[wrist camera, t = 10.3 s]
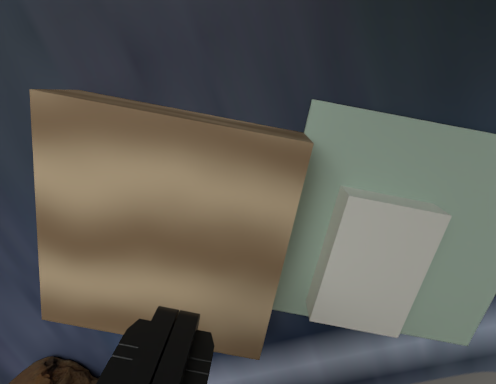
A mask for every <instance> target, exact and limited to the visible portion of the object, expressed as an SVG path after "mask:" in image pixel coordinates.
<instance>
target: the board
mask: <svg viewBox="0 0 496 384" xmlns="http://www.w3.org/2000/svg"><path fill="white" fill-rule="evenodd" d="M30 106H31V125H32V143H33V162H34V181H35V199H36V218H37V237H38V255H39V274H40V293H41V311H42V320H48V321H53V322H58V323H64V324H69V325H74V326H80V327H85V328H90V329H96V330H101V331H106V332H112V333H117V334H122V335H124V333H125V332H126V330H127V329H128V328H129V327H130V326H131V325H132V324H134V323H135V322H136V321H137V320H138V319H144V320H149V321H151V320H152V318H153V316H154V314H155V312H156V310H157V308H158V306H162V307H168V308H173V309H178V310H179V312H180V310H183V311H188V312H194V313H199V314H200V320H199V326H198V330H201V331H206V332H211V334H212V338H213V342H214V351H213V352H219V353H224V354H229V355H235V356H240V357H245V358H251V359H256V360H259V359H260V355H261V351H262V347H263V343H264V339H265V335H266V331H267V327H268V323H269V319H270V315H271V311H272V307H273V303H274V299H275V295H276V292H277V288H278V284H279V280H280V276H281V272H282V268H283V264H284V260H285V256H286V252H287V248H288V244H289V240H290V236H291V232H292V228H293V224H294V220H295V216H296V212H297V208H298V204H299V200H300V196H301V192H302V188H303V184H304V180H305V177H306V173H307V169H308V165H309V161H310V157H311V153H312V149H313V145H314V143H313V142H312V141H311V140H310V139H309V138H308V137H307V136H306V135H305V134H304V133H302V132H297V131H291V130H286V129H281V128H276V127H270V126H265V125H260V124H255V123H249V122H244V121H239V120H234V119H228V118H223V117H218V116H213V115H207V114H202V113H197V112H191V111H186V110H181V109H176V108H170V107H165V106H160V105H155V104H149V103H144V102H139V101H134V100H128V99H123V98H118V97H113V96H107V95H102V94H97V93H92V92H86V91H81V90H46V89H30Z"/></svg>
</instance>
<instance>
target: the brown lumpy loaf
mask: <svg viewBox="0 0 496 384" xmlns="http://www.w3.org/2000/svg"><path fill="white" fill-rule="evenodd" d="M97 381H98V378H95V377H93V376H91V374H90V372H89V370H87V369H85V368H84V367H82V366H80V365H79V364H78V363H76V362H74V361H71V360H62V359H60V358H57V357H53V356H51V357H46V358H44V359H41V360H38V361H36V362H34V363H33V364H32V365H30V366H29V367H28V368H26V369H25V370H24V371H22V372H21V373H20V374H19V375H18V376H17V377H16V378H14V379H13V380H12V381H11V382H10V383H9V384H96V383H97Z"/></svg>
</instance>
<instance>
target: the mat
mask: <svg viewBox="0 0 496 384" xmlns="http://www.w3.org/2000/svg"><path fill="white" fill-rule="evenodd" d="M304 134H305V135H306V136H307V137H308V138H309V139H310V140H311V141H312V142H313V143H314V145H313V149H312V153H311V157H310V161H309V165H308V169H307V173H306V177H305V180H304V184H303V188H302V192H301V196H300V200H299V204H298V208H297V212H296V216H295V220H294V224H293V228H292V232H291V236H290V240H289V244H288V248H287V252H286V256H285V260H284V264H283V268H282V272H281V276H280V280H279V284H278V288H277V292H276V295H275V299H274V303H273V307H272V309H273V310H278V311H283V312H288V313H294V314H299V315H304V316H308V311H307V306H306V298H307V295H308V292H309V288H310V285H311V282H312V278H313V275H314V272H315V269H316V265H317V262H318V259H319V255H320V252H321V249H322V245H323V242H324V239H325V235H326V232H327V229H328V226H329V222H330V219H331V216H332V212H333V209H334V206H335V202H336V199H337V196H338V192H339V189H340V186H346V187H351V188H356V189H362V190H367V191H372V192H377V193H382V194H387V195H392V196H397V197H402V198H407V199H412V200H418V201H423V202H428V203H433V204H435V205H436V206H438V207H439V208H441V209H442V210H444V211H445V212H447V213H448V214H450V215H451V216H452V217H451V219H450V222H449V224H448V226H447V228H446V231H445V233H444V235H443V237H442V240H441V242H440V244H439V246H438V249H437V251H436V253H435V255H434V258H433V260H432V262H431V264H430V267H429V269H428V271H427V273H426V276H425V278H424V280H423V282H422V285H421V287H420V289H419V291H418V294H417V296H416V298H415V300H414V303H413V305H412V307H411V309H410V312H409V314H408V316H407V318H406V321H405V323H404V325H403V327H402V330H401V332H400V334H406V335H411V336H416V337H422V338H427V339H432V340H438V341H443V342H448V343H454V344H459V345H464V346H468V344H469V342H470V341H471V339H472V337H473V335H474V333H475V331H476V329H477V328H478V326H479V324H480V322H481V320H482V318H483V316H484V315H485V313H486V311H487V309H488V307H489V305H490V303H491V302H492V300H493V298H494V296H495V294H496V134H492V133H487V132H481V131H476V130H471V129H466V128H460V127H455V126H450V125H445V124H439V123H434V122H429V121H424V120H418V119H413V118H408V117H403V116H397V115H392V114H387V113H382V112H376V111H371V110H366V109H361V108H355V107H350V106H345V105H340V104H335V103H329V102H324V101H319V100H314V99H312V101H311V105H310V109H309V113H308V118H307V122H306V126H305V130H304Z"/></svg>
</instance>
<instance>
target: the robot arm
mask: <svg viewBox="0 0 496 384" xmlns="http://www.w3.org/2000/svg"><path fill="white" fill-rule="evenodd" d="M199 320H200V314H199V313H194V312H188V311H183V310H180V312H179V310H178V309H173V308H168V307H162V306H158V308H157V310H156V312H155V314H154V316H153V318H152V320H151V321H149V320H144V319H138V320H137V321H136V322H135V323H134V324H132V325H131V326H130V327H129V328H128V329H127V330H126V332H125V333H124V335H123V337H122V339H121V340H120V342H119V345H118V346H117V347H116V349H115V351H114V353H113V355H112V357H111V358H110V360H109V362H108V363H107V365H106V367H105V369H104V370H103V372H102V374H101V376H100V377H99V379H98V381H97V383H96V384H207V381H208V376H209V371H210V366H211V361H212V356H213V351H214V342H213V338H212V334H211V332H206V331H201V330H198V326H199Z"/></svg>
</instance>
